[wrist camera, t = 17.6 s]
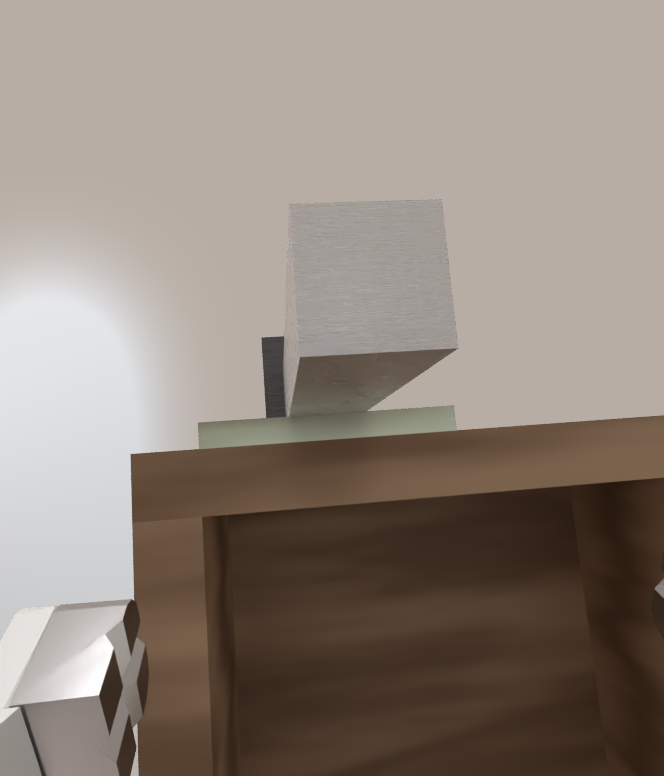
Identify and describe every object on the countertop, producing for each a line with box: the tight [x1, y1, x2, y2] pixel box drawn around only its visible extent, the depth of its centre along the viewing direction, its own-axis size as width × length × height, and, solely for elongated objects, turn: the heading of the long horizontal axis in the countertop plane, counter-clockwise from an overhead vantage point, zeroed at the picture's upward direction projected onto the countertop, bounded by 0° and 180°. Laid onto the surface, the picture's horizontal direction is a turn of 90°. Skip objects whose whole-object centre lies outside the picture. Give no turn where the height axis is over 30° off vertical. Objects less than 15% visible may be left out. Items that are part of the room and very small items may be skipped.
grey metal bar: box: [262, 200, 458, 418], centre depth 19 cm, size 21×4×4 cm, turn 5°
